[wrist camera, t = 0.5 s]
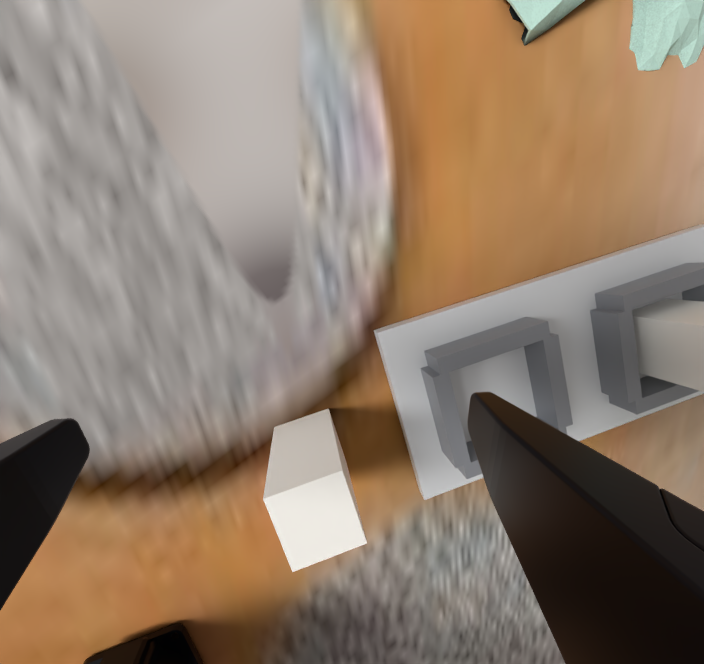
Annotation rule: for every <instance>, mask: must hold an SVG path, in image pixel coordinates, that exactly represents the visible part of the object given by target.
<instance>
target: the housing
mask: <svg viewBox="0 0 704 664" xmlns="http://www.w3.org/2000/svg"><path fill="white" fill-rule="evenodd" d="M374 333H375V336H376V340H377V343H378V347H379V350H380V354H381V357H382V361H383V364H384V368H385V371H386V375H387V378H388V382H389V385H390V389H391V392H392V396H393V399H394V403H395V406H396V410H397V413H398V417H399V420H400V424H401V427H402V431H403V434H404V438H405V441H406V445H407V448H408V452H409V455H410V459H411V462H412V466H413V469H414V473H415V476H416V480H417V483H418V487H419V490H420V492H421V494H422V496H423V498H424V500H426V499H429V498H431V497H434V496H436V495H439V494H442V493H444V492H447V491H449V490H452V489H455V488H457V487H460V486H463V485H465V484H468V483H470V482H473V481H476V480H478V479H481V478H484V477H483V474H482V471H481V468H480V465H479V462H478V459H477V456H476V453H475V450H474V446H473V443H472V440H471V437H470V434H469V431H468V425H467V421H468V412H469V404H470V397H471V395H472V394H473V393H475V392H492V393H494V394H495V395H497V396H499V397H501V398H503V399H504V400H506V401H508V402H510V403H511V404H513V405H515V406H517V407H519V408H520V409H522V410H524V411H526V412H527V413H529V414H531V415H533V416H535V417H536V418H538V419H540V420H542V421H543V422H545V423H547V424H549V425H551V426H552V427H554V428H556V429H558V430H559V431H561V432H563V433H565V434H567V435H568V436H570V437H572V438H574V439H575V440H577V441H581V440H583V439H586V438H588V437H591V436H594V435H596V434H599V433H602V432H604V431H607V430H609V429H612V428H615V427H617V426H620V425H623V424H625V423H628V422H630V421H633V420H636V419H638V418H641V417H644V416H646V415H649V414H651V413H654V412H657V411H659V410H662V409H665V408H667V407H670V406H672V405H675V404H678V403H680V402H683V401H685V400H688V399H691V398H693V397H696V396H699V395H701V394H704V224H701V225H696V226H693V227H690V228H687V229H684V230H681V231H678V232H675V233H672V234H669V235H666V236H662V237H659V238H656V239H653V240H650V241H647V242H644V243H641V244H638V245H635V246H632V247H629V248H625V249H622V250H619V251H616V252H613V253H610V254H607V255H604V256H601V257H598V258H595V259H592V260H588V261H585V262H582V263H579V264H576V265H573V266H570V267H567V268H564V269H561V270H558V271H555V272H552V273H548V274H545V275H542V276H539V277H536V278H533V279H530V280H527V281H524V282H521V283H518V284H515V285H511V286H508V287H505V288H502V289H499V290H496V291H493V292H490V293H487V294H484V295H481V296H478V297H474V298H471V299H468V300H465V301H462V302H459V303H456V304H453V305H450V306H447V307H444V308H441V309H437V310H434V311H431V312H428V313H425V314H422V315H419V316H416V317H413V318H410V319H407V320H404V321H401V322H397V323H394V324H391V325H388V326H385V327H382V328H379V329H376V330H374Z"/></svg>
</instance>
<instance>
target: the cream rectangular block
mask: <svg viewBox="0 0 704 664" xmlns="http://www.w3.org/2000/svg"><path fill="white" fill-rule="evenodd" d="M263 500H264V502H265V505H266V507H267V510H268V512H269V515H270V517H271V520H272V522H273V525H274V527H275V529H276V532H277V534H278V537H279V539H280V542H281V544H282V547H283V549H284V552H285V554H286V557H287V559H288V562H289V564H290V567H291V569H292V572H294V571H297V570H299V569H302V568H304V567H307V566H310V565H312V564H315V563H317V562H320V561H323V560H325V559H328V558H330V557H333V556H335V555H338V554H341V553H343V552H346V551H348V550H351V549H354V548H356V547H359V546H361V545H364V544H366V543H367V541H366V537H365V533H364V529H363V525H362V522H361V518H360V514H359V510H358V506H357V502H356V498H355V494H354V490H353V486H352V482H351V478H350V474H349V470H348V466H347V462H346V459H345V456H344V453H343V450H342V447H341V444H340V441H339V438H338V435H337V432H336V429H335V426H334V423H333V420H332V417H331V414H330V411H329V409H326V410H323V411H320V412H317V413H314V414H311V415H308V416H305V417H303V418H300V419H297V420H294V421H291V422H288V423H285V424H282V425H279V426H276V427H274V432H273V439H272V445H271V452H270V458H269V465H268V471H267V478H266V484H265V491H264V497H263Z"/></svg>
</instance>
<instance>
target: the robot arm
mask: <svg viewBox="0 0 704 664" xmlns="http://www.w3.org/2000/svg"><path fill="white" fill-rule="evenodd" d="M467 425H468V431H469V434H470V437H471V440H472V443H473V446H474V450H475V453H476V456H477V459H478V462H479V465H480V468H481V471H482V474H483V477H484V480H485V483H486V486H487V489H488V492H489V494H490V497H491V499H492V501H493V504H494V506H495V508H496V510H497V513H498V515H499V517H500V519H501V522H502V524H503V526H504V528H505V530H506V533H507V535H508V537H509V539H510V541H511V544H512V546H513V548H514V550H515V553H516V555H517V557H518V559H519V561H520V564H521V566H522V568H523V570H524V572H525V575H526V577H527V579H528V581H529V584H530V586H531V588H532V590H533V592H534V595H535V597H536V599H537V601H538V603H539V606H540V608H541V610H542V612H543V615H544V617H545V619H546V621H547V623H548V626H549V628H550V630H551V632H552V634H553V637H554V639H555V641H556V643H557V646H558V648H559V650H560V652H561V654H562V657H563V659H564V661H565V663H566V664H704V511H702V510H700V509H699V508H697V507H695V506H693V505H691V504H689V503H688V502H686V501H684V500H682V499H680V498H679V497H677V496H675V495H673V494H672V493H670V492H668V491H666V490H665V489H660V490H659V487H658V486H657V485H655V484H654V483H652V482H650V481H648V480H647V479H645V478H643V477H641V476H639V475H638V474H636V473H634V472H632V471H631V470H629V469H627V468H625V467H623V466H622V465H620V464H618V463H616V462H615V461H613V460H611V459H609V458H607V457H606V456H604V455H602V454H600V453H599V452H597V451H595V450H593V449H591V448H590V447H588V446H586V445H584V444H583V443H581V442H579V441H577V440H575V439H574V438H572V437H570V436H568V435H567V434H565V433H563V432H561V431H559V430H558V429H556V428H554V427H552V426H551V425H549V424H547V423H545V422H543V421H542V420H540V419H538V418H536V417H535V416H533V415H531V414H529V413H527V412H526V411H524V410H522V409H520V408H519V407H517V406H515V405H513V404H511V403H510V402H508V401H506V400H504V399H503V398H501V397H499V396H497V395H495V394H494V393H492V392H475V393H473V394H472V395H471V397H470V404H469V412H468V421H467ZM89 451H90V448H89V444H88V442H87V440H86V438H85V436H84V434H83V432H82V430H81V428H80V426H79V424H78V422H77V421H76V420H74V419H71V418H67V419H54V420H50V421H48V422H46V423H44V424H41V425H39V426H37V427H35V428H33V429H31V430H29V431H26V432H24V433H22V434H20V435H18V436H16V437H13V438H11V439H9V440H7V441H5V442H3V443H1V444H0V610H1V609H2V607H3V605H4V604H5V602H6V601H7V599H8V597H9V596H10V594H11V592H12V591H13V589H14V588H15V586H16V584H17V583H18V581H19V580H20V578H21V576H22V575H23V573H24V572H25V570H26V568H27V567H28V565H29V564H30V562H31V560H32V559H33V557H34V556H35V554H36V552H37V551H38V549H39V547H40V546H41V544H42V543H43V541H44V539H45V538H46V536H47V535H48V533H49V531H50V530H51V528H52V526H53V524H54V523H55V521H56V519H57V517H58V515H59V513H60V512H61V510H62V508H63V506H64V504H65V502H66V500H67V498H68V496H69V494H70V492H71V490H72V488H73V486H74V484H75V482H76V480H77V478H78V476H79V474H80V472H81V470H82V468H83V466H84V464H85V462H86V460H87V458H88V456H89ZM83 664H203V662H202V660H201V658H200V656H199V654H198V652H197V650H196V648H195V647H194V645H193V643H192V641H191V639H190V637H189V635H188V633H187V631H186V629H185V627H184V626H183V625H182V624H174V625H171V626H169V627H166V628H164V629H161V630H158V631H156V632H153V633H151V634H148V635H146V636H143V637H141V638H138V639H135V640H133V641H130V642H128V643H125V644H123V645H120V646H117V647H115V648H112V649H110V650H107V651H105V652H102V653H99V654H97V655H94V656H92V657H89V658H87V659H86V660H85V662H84V663H83Z"/></svg>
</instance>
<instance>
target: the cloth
mask: <svg viewBox="0 0 704 664" xmlns="http://www.w3.org/2000/svg"><path fill="white" fill-rule="evenodd" d="M507 1H508V2H509V3H510V4H511V5H510V9H509V10H510V13H511V16H512V18H513V19H514V20H516V21H519V22H521V23H523V24H524V25H525V29H524V32H523V35H522V41H523V43H524V46H525V45H527V44H528V43H529V42H531V41H532V40H534V39H535V38H537V37H538V36H540V35H541V34H542V33H544V32H545V31H547V30H548V29H550V28H551V27H552V26H553V25H555V24H556V23H557V22H558V21H560V20H561V19H562V18H563V17H565V16H566V15H567V14H568V13H570V12H571V11H572V10H573V9H575V8H576V7H577V6H579V5H580V4H581V3H582V2H584V1H585V0H507ZM703 45H704V0H633V21H632V26H631V37H630V47H629V49H630V50H632V51H633V52H634V53H635V56H636V61H637V66H638V70H644V71H651V70H658V69H660V67H661V66H662V64H663V62H664V60H665V59H666V57H667V55H678V56H679V58H680V60H681V62H682V64H683V66H684V68H686V67H688V66H689V65H691V64H693V63H695V62H696V61H697V59H698V57H699V55H700V52H701V50H702V47H703Z"/></svg>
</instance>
